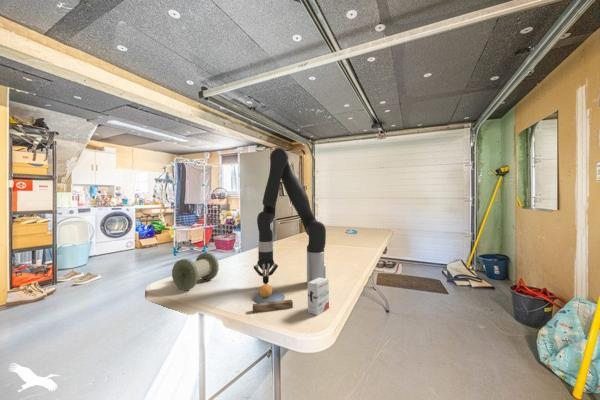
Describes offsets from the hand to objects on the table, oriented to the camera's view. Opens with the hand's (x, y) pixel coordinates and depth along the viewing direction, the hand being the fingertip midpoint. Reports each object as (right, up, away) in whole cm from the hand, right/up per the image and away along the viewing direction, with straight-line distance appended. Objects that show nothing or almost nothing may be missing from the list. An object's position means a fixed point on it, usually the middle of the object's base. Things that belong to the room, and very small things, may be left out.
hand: (265, 283), depth 114 cm
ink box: (+25, -1, -25) cm, 35 cm away
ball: (+2, +1, -13) cm, 13 cm away
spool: (-37, -2, +3) cm, 37 cm away
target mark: (+4, -1, -14) cm, 14 cm away
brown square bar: (+7, -1, -24) cm, 25 cm away
